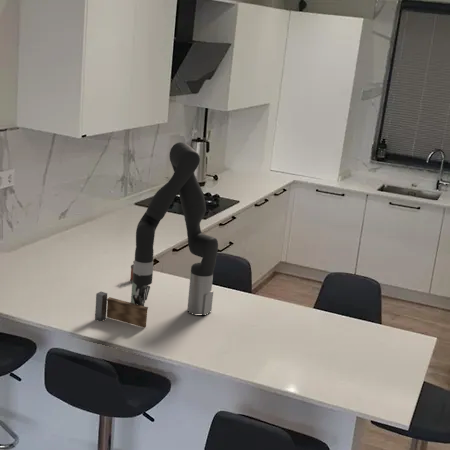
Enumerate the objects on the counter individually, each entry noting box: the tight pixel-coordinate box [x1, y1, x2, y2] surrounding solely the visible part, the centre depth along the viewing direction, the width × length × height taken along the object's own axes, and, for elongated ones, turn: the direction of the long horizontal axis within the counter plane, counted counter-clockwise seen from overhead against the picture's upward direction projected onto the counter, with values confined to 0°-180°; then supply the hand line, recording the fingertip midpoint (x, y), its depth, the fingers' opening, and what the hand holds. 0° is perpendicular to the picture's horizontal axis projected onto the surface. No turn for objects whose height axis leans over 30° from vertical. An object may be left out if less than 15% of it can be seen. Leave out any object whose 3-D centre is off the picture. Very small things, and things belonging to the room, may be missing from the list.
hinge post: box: [94, 291, 108, 322], centre depth 270 cm, size 3×3×11 cm
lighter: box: [129, 260, 135, 283], centre depth 316 cm, size 8×3×10 cm, turn 143°
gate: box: [106, 297, 149, 328], centre depth 270 cm, size 17×2×8 cm, turn 68°
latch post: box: [130, 280, 137, 304], centre depth 291 cm, size 3×3×10 cm
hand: (140, 312), depth 272 cm, fingers closed
